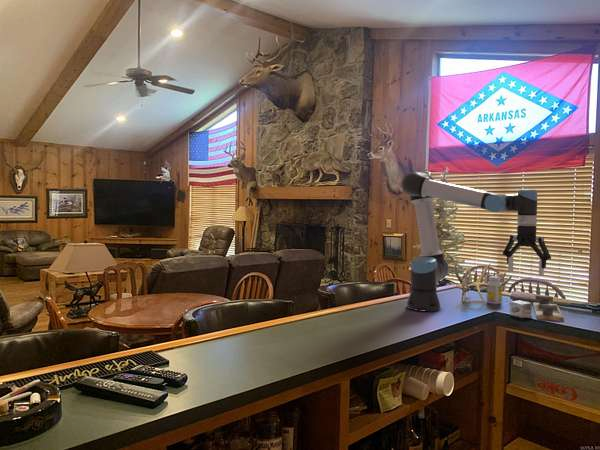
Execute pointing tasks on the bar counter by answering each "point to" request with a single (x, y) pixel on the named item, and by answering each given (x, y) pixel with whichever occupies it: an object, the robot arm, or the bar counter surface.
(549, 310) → the shaft bed
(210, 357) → the bar counter surface
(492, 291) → the supplement bottle
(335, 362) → the bar counter surface
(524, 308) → the coupler
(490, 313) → the bar counter surface
